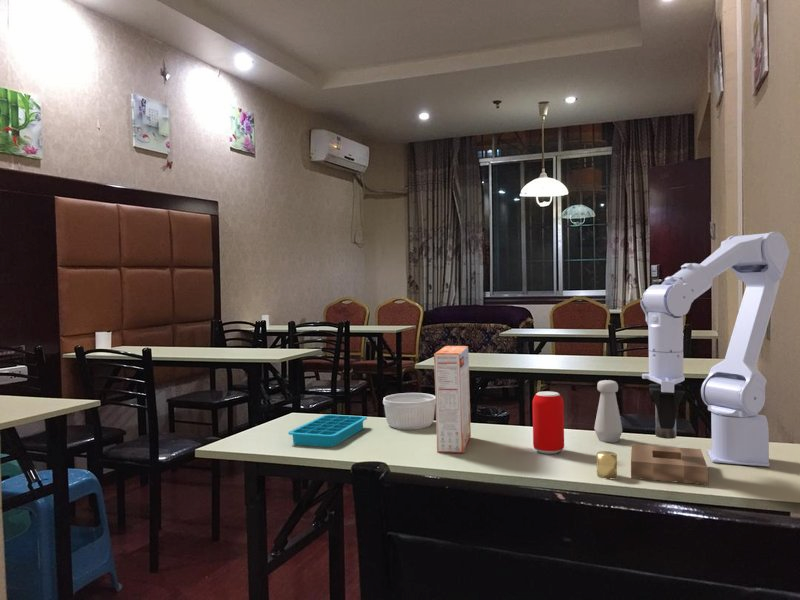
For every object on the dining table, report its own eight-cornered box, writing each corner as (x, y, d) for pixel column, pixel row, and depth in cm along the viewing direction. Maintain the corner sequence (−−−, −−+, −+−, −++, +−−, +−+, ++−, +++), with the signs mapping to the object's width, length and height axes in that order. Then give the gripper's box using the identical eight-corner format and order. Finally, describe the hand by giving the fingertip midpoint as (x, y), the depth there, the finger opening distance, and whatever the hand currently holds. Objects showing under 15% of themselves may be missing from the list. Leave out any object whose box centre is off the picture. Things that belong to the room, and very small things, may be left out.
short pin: (617, 474, 107) (617, 452, 107) (616, 480, 104) (616, 457, 104) (597, 472, 108) (597, 450, 108) (596, 478, 105) (596, 455, 105)
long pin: (676, 434, 109) (675, 396, 109) (676, 439, 106) (675, 400, 105) (656, 433, 110) (655, 395, 110) (655, 437, 107) (654, 398, 107)
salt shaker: (624, 443, 127) (623, 383, 127) (596, 442, 128) (595, 382, 128) (619, 437, 133) (619, 378, 133) (593, 436, 134) (592, 378, 134)
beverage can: (535, 446, 127) (534, 390, 126) (565, 448, 125) (564, 391, 124) (531, 454, 121) (530, 395, 121) (563, 456, 119) (562, 396, 119)
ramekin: (384, 432, 142) (383, 403, 142) (382, 420, 155) (382, 393, 155) (439, 430, 143) (438, 401, 143) (433, 418, 156) (433, 391, 156)
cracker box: (445, 436, 137) (443, 345, 136) (471, 437, 135) (469, 345, 135) (434, 453, 123) (432, 352, 123) (463, 454, 122) (461, 352, 121)
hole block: (700, 465, 111) (700, 449, 111) (707, 485, 100) (707, 467, 100) (632, 459, 116) (631, 444, 116) (631, 478, 105) (630, 461, 105)
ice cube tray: (368, 428, 147) (368, 416, 147) (334, 450, 128) (333, 436, 128) (326, 426, 151) (325, 414, 151) (286, 446, 132) (285, 433, 132)
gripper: (641, 346, 116) (642, 416, 116) (641, 354, 102) (642, 433, 103) (681, 347, 113) (682, 418, 113) (687, 355, 100) (688, 436, 100)
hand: (666, 425), depth 108 cm, fingers closed on long pin, 3 cm apart
